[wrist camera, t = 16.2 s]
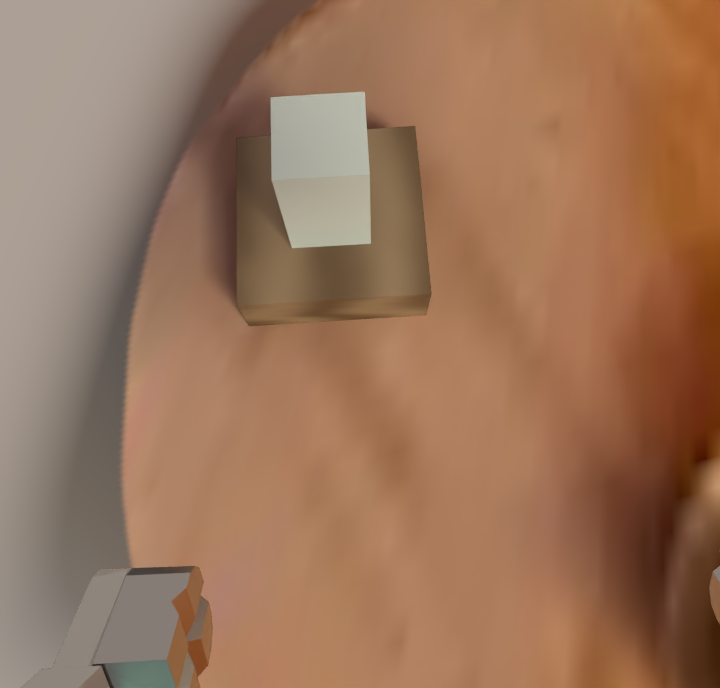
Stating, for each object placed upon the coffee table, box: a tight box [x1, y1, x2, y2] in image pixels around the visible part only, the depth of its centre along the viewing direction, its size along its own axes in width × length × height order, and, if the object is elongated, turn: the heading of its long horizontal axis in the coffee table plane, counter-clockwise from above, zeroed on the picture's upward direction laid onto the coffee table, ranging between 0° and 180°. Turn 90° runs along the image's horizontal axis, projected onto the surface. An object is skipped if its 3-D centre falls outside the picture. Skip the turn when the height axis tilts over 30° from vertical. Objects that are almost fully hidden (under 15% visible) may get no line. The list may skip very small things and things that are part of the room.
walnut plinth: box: [236, 126, 431, 326], centre depth 42 cm, size 12×12×4 cm
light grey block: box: [271, 92, 371, 248], centre depth 36 cm, size 5×5×8 cm
